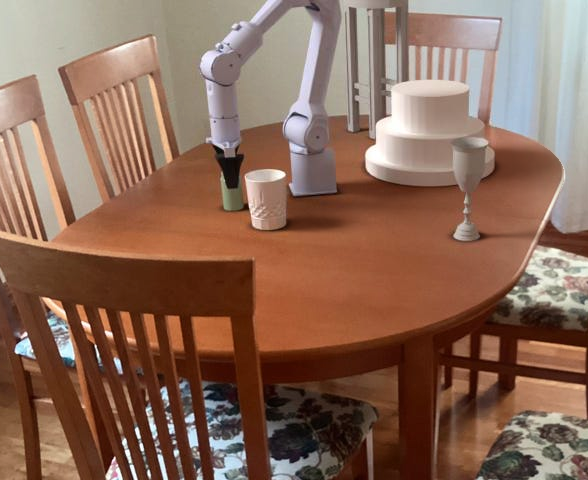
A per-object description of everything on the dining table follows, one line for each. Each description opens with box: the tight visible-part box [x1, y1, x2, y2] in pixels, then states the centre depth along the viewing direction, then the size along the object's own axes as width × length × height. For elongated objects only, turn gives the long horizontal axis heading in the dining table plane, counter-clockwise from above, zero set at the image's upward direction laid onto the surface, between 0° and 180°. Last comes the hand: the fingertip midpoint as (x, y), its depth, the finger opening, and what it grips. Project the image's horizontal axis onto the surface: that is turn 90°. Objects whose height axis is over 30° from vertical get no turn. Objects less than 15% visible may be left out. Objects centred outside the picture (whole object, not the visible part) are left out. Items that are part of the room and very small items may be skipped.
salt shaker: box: [220, 171, 245, 212], centre depth 189 cm, size 4×4×8 cm
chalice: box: [451, 137, 490, 242], centre depth 172 cm, size 7×7×18 cm
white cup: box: [244, 168, 287, 231], centre depth 180 cm, size 8×8×10 cm
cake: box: [364, 79, 496, 187], centre depth 210 cm, size 30×30×18 cm
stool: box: [343, 0, 410, 140], centre depth 232 cm, size 16×16×35 cm
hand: (230, 182), depth 189 cm, fingers open, 7 cm apart
